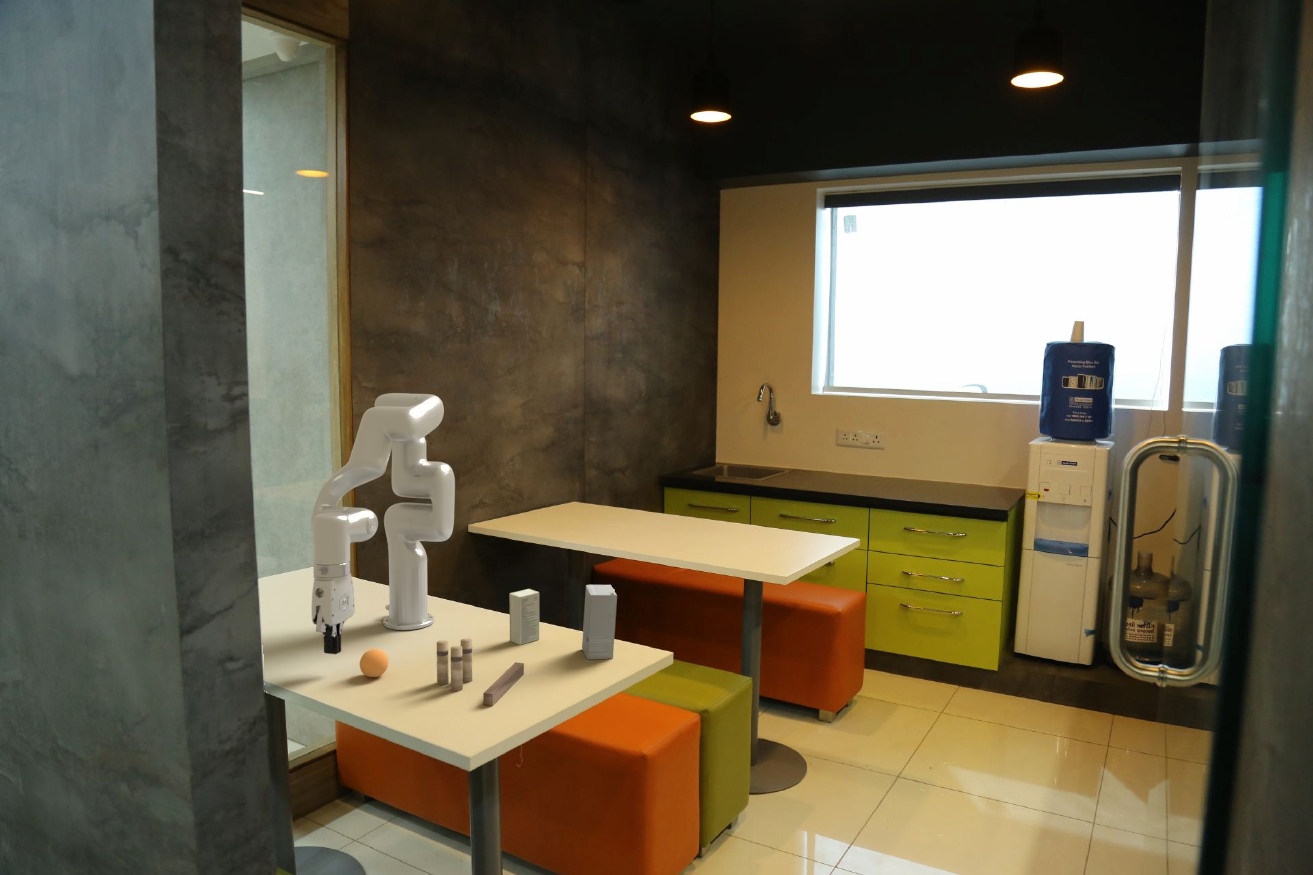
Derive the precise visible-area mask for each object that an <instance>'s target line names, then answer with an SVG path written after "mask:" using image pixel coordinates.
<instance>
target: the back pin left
mask: <svg viewBox="0 0 1313 875" xmlns="http://www.w3.org/2000/svg"><path fill="white" fill-rule="evenodd" d="M460 646H462V657H463V660H462V671H463V683H467V684H468V683H471V682H473V639H472V638H470V637H465V638H461V639H460Z"/></svg>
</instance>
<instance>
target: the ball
mask: <svg viewBox="0 0 1313 875" xmlns="http://www.w3.org/2000/svg"><path fill="white" fill-rule="evenodd" d="M388 667H389V657H388V655H387V653H385V652H384V651H383V650H381V649H378V648H371V649H368V650H367V651H365V652H364V653H363V654H362V655H361V658H360V660H359V668H360V669H359V670H360V671H361V672H362V674H364V676H366V677H369V678H377V677H380V676H382V675H383V674H385V672H386V671H387V669H388Z"/></svg>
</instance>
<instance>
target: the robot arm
mask: <svg viewBox="0 0 1313 875" xmlns="http://www.w3.org/2000/svg"><path fill="white" fill-rule="evenodd" d="M374 401H375V402H374V406H373V407H369V408H368V409H367V410H365V411H364V413H363V415H362V418H361V421H360V423H359V426H358V431H357V433H356V436H355V437H356V438H355V439H354V440H355V441H354V444H353V446H352V450H351V452H350V457H349V460H348V461H347V462H346V464H345V465H343V466H342V467H341V468H339V469H338V470H337V471H336V472H335V473H334V474H333V475H332V476H330V478H329V479H328V480H327V481H326V482H325V483H324V485H322V487H321V489H320V490H319V492H318V495H317V496H316V497H317V498H316V501H315V503H314V506H313V510H312V515H311V520H310V527H311V530H312V537H313V539H312V541H313V542H312V543H313V544H312V545H313V549H312V551H313V558H312V559H313V562H312V563H313V566H312V567H313V568H312V569H313V585H312V594H311V595H312V596H311V621H312V623H313V625H315V626H316V627H315V632H317V633H321V635H322V637H323V654H329V655H337V654H339V653H341V652H342V633H343V629H344V624H345V622H347V621H348V620H349V619H350V618H352V617H353V616H354V615H355V609H356V607H355V603H356V602H355V590H354V581H353V577H352V573H351V544H352V543H360V542H361V543H362V542H365V541H368V540H370V539H371V538H373V536H375V534H376V532H377V531H378V527H379V520H378V516H377V515H376V513H375V512H374V511H372V510H371V509H368V508H366V507H353V506H352V507H351V506H349V507H348V506H338V504H339V502H340V501H341V499H342V498H343V497H344V496H345V495H346V494H348V492H350V491H351V490H353V489H354V488H356V487H359V486H361V485H364V484H366V483H369V482H371V481H374V480H376V479H378V478H380V477H382V476H383V475H384V474H385V473H386V470H387V466H388V463H389V460H390V457H391V489H392V491H393V493H394V495H396V496H398V497H401V498H410V499H411V498H413V499H426V500H427V499H430V500H431V503H421V502H419V503H418V502H398V503H394V504H393V505H391V506H389V507H388V508H387V510H386V511H385V514H384V517H383V523H384V530H385V536H386V542H387V549H388V578H389V579H388V581H389V582H388V585H389V587H388V588H389V590H388V591H389V593H388V594H389V596H388V597H389V604H386V605H385V610H386V611H388V616H387V617H385V618H384V619H383V626H384V627H385V628H387V629H390V630H394V631H410V630H419V629H423V628H426V627H428V626H431V625H432V624H434V620H435V618H434V617H435V616H433V615H432V614H431V613H428V612H429V611H428V609H429V608H428V556H427V552H426V549H425V548H424V546H423V544H422V543H421V542H435V543H437V542H440V543H441V542H445V541H448V539H450V537H451V536H452V534H453V530H454V526H455V525H454V524H455V499H456V497H455V496H456V495H455V494H456V490H455V489H456V478H455V473H454V471H453V468H452V467H451V466H450V464H448V463H445V462H442V461H430V460H429V461H428V459H427V440H426V438H425V437H426V436H427V435H429V434H430V433H431V432H433V431H434V430H435V429H437V428H438V427H439V425H440V424H441V422H442V421H443V418H444V414H445V413H444V412H445V409H444V408H445V407H444V404H443V400H441V398H440V397H439V396H437V395H435V394H432V393H431V394H429V393H406V392H405V393H404V392H403V393H401V392H399V393H398V392H392V393H391V392H390V393H384V394H381V395H379V396H378V397H377V398H376V399H375V400H374Z"/></svg>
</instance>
